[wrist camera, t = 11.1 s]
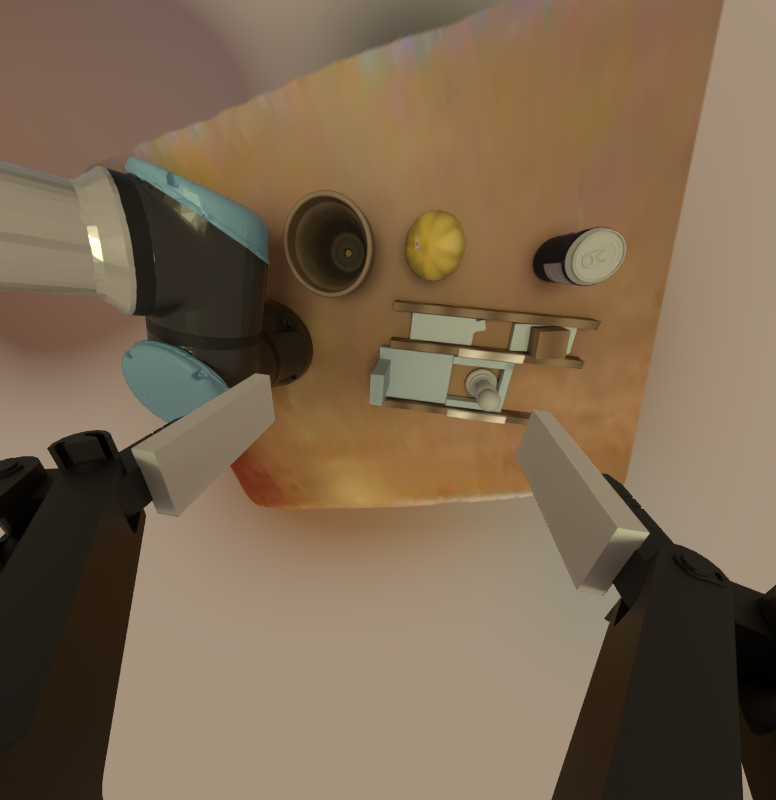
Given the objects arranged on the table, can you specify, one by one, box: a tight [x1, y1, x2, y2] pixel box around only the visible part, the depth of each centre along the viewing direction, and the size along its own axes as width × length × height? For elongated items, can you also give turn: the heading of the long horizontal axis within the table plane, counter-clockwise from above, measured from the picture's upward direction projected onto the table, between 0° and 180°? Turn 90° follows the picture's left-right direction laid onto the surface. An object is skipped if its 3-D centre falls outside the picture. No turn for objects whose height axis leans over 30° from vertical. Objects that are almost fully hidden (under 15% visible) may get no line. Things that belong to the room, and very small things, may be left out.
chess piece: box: [465, 369, 501, 412], centre depth 44 cm, size 5×5×9 cm
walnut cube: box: [527, 326, 571, 359], centre depth 41 cm, size 4×4×4 cm
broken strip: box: [410, 312, 577, 354], centre depth 44 cm, size 25×5×1 cm, turn 85°
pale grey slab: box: [369, 345, 515, 412], centre depth 45 cm, size 22×9×9 cm, turn 85°
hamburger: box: [405, 210, 465, 281], centre depth 35 cm, size 8×7×12 cm
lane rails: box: [386, 300, 600, 425], centre depth 46 cm, size 30×18×3 cm, turn 85°
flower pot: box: [283, 190, 375, 297], centre depth 38 cm, size 12×11×10 cm
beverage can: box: [534, 227, 626, 286], centre depth 34 cm, size 6×6×12 cm
